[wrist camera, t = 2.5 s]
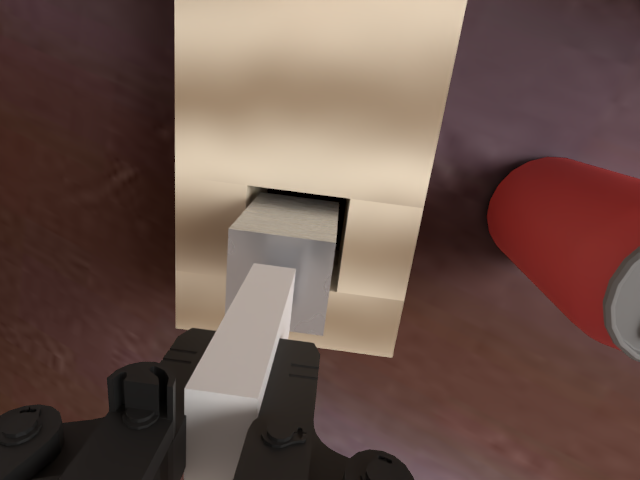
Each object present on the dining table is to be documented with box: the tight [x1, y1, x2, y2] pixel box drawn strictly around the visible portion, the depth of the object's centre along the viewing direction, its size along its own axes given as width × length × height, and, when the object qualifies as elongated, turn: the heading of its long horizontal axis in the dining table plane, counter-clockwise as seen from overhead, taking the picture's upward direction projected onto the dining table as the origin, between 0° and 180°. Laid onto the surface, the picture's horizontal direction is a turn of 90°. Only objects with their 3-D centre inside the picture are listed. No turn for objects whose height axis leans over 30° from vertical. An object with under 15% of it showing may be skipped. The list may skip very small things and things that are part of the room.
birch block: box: [174, 0, 467, 358], centre depth 21 cm, size 26×12×6 cm, turn 173°
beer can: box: [487, 157, 640, 362], centre depth 20 cm, size 7×7×12 cm
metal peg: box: [225, 192, 339, 336], centre depth 19 cm, size 4×4×6 cm
